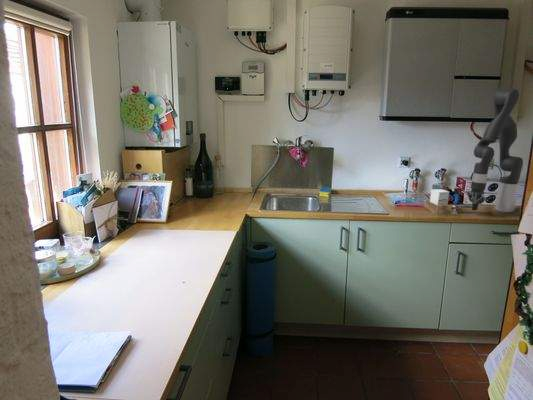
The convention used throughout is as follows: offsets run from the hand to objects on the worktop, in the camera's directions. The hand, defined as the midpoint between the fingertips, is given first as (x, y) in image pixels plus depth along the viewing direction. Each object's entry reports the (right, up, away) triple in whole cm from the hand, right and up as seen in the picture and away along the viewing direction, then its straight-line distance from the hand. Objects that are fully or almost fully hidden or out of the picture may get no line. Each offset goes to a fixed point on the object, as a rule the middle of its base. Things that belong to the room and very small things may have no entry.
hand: (474, 210), depth 224 cm
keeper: (-16, -1, +8) cm, 18 cm away
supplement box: (-18, -1, +8) cm, 20 cm away
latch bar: (-4, +1, +3) cm, 6 cm away
